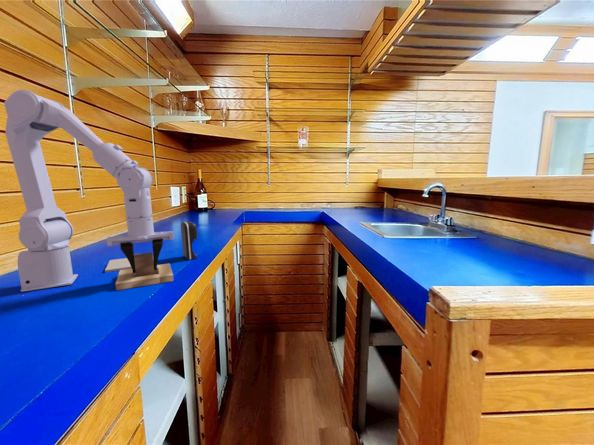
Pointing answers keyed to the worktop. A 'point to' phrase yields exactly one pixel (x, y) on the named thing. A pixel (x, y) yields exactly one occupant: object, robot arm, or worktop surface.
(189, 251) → the coffee machine
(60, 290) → the worktop surface
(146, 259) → the block
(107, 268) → the mat
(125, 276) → the wooden board
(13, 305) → the worktop surface
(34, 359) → the worktop surface
